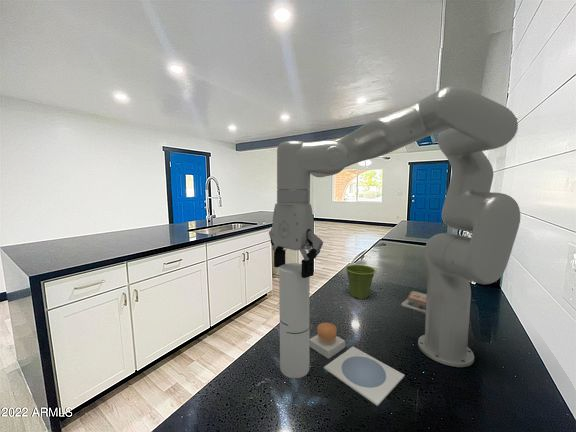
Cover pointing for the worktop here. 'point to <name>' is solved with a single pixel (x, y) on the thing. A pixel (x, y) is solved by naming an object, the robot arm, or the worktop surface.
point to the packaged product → (416, 301)
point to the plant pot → (360, 280)
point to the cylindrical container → (294, 320)
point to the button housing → (327, 345)
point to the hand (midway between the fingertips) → (292, 271)
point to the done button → (327, 331)
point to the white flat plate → (365, 374)
